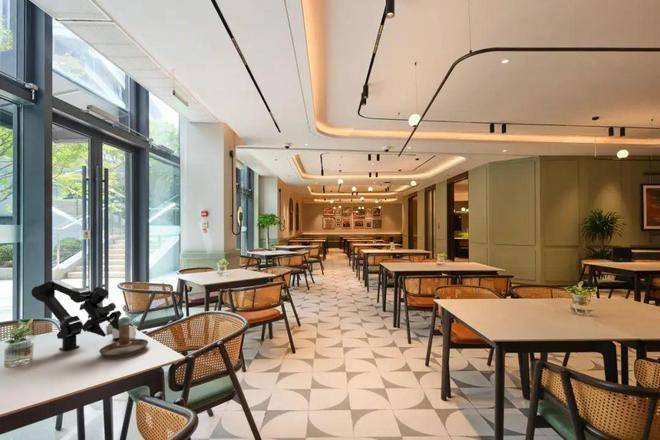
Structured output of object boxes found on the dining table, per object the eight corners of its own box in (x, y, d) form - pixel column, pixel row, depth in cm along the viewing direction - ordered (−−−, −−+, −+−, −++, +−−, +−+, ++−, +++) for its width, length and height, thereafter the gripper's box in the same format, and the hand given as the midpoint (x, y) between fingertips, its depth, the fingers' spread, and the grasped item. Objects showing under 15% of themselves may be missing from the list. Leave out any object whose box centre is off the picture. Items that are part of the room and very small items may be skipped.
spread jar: (114, 336, 191) (114, 316, 191) (137, 333, 195) (137, 313, 195) (110, 343, 180) (110, 321, 180) (134, 339, 184) (134, 318, 184)
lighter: (106, 333, 197) (106, 319, 197) (106, 332, 198) (106, 319, 198) (120, 330, 201) (120, 317, 201) (120, 330, 203) (120, 316, 203)
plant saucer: (88, 361, 156) (88, 354, 156) (115, 345, 177) (115, 339, 177) (134, 360, 157) (134, 352, 157) (155, 344, 177) (155, 338, 177)
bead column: (114, 348, 163) (114, 319, 163) (119, 344, 169) (119, 316, 170) (129, 346, 165) (129, 317, 165) (133, 342, 171) (133, 314, 171)
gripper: (86, 303, 160) (106, 327, 158) (118, 295, 179) (136, 317, 176) (73, 319, 162) (92, 343, 159) (105, 309, 180) (123, 331, 178)
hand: (112, 333), depth 168 cm, fingers open, 9 cm apart
